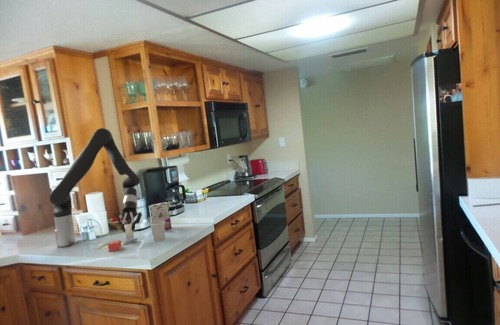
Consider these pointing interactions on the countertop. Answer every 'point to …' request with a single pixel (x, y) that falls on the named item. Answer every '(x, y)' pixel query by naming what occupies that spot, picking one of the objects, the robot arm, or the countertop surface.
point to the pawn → (128, 231)
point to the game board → (127, 242)
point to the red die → (114, 245)
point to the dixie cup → (158, 230)
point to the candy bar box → (160, 213)
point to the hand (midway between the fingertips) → (128, 230)
